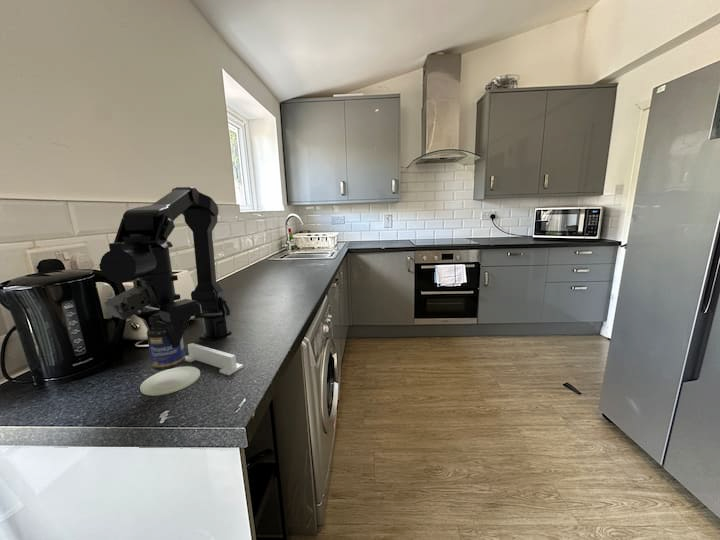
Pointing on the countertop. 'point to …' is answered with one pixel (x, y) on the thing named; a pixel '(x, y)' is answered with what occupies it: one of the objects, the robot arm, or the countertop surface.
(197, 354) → the low wall
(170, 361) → the pill bottle
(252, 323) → the countertop surface
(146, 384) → the pad
